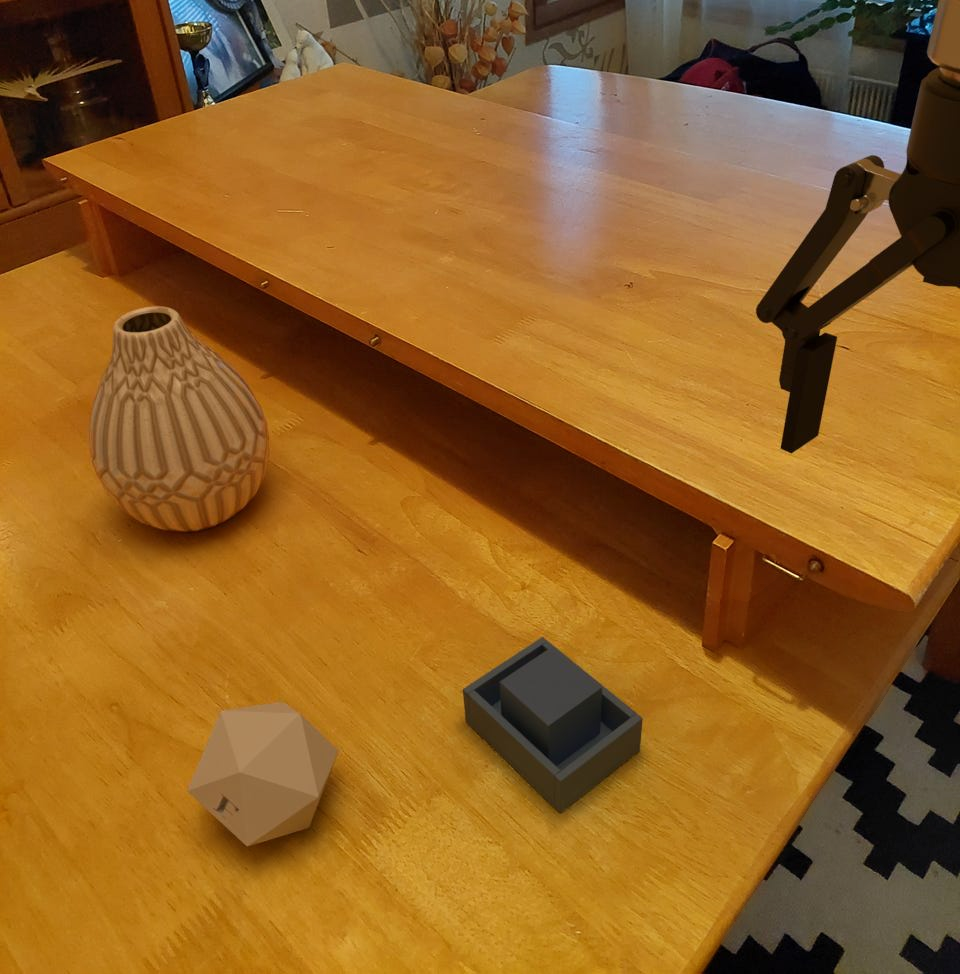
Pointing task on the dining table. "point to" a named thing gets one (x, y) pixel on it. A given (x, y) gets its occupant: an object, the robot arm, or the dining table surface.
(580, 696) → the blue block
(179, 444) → the vase
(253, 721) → the die
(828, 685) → the dining table surface
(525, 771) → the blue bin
